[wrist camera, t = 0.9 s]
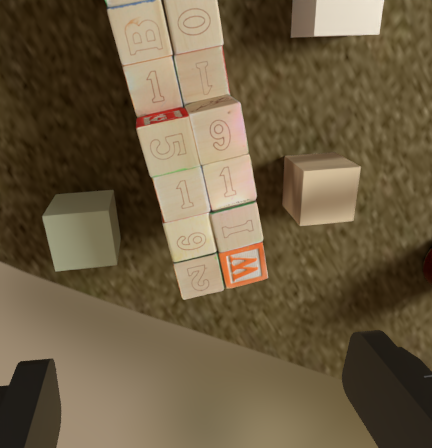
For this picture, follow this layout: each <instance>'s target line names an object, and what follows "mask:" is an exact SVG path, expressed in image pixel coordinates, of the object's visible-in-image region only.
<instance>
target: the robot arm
mask: <svg viewBox="0 0 432 448" xmlns="http://www.w3.org/2000/svg"><path fill="white" fill-rule="evenodd" d="M342 382H343V387H344V390H345V393H346V395H347V397H348V399H349V401H350V402H351V404H352V405H353V407H354V409H355V410H356V412H357V413H358V415H359V417H360V418H361V420H362V422H363V423H364V425H365V426H366V428H367V430H368V431H369V433H370V434H371V436H372V437H373V439H374V441H375V443H376V444H377V446H378V447H379V448H432V371H431V370H430V369H429V368H428V367H427V366H426V365H425V364H424V363H423V362H422V361H421V360H420V359H419V358H417V357H416V356H414V355H413V354H411V353H410V352H408V351H407V350H405V349H404V348H402V347H397V346H396V345H395V344H394V343H393V341H392V340H391V339H390V338H389V337H388V336H387V335H386V334H385V333H384V332H383V331H380V330H375V331H364V332H355V333H353V334H352V336H351V338H350V342H349V346H348V351H347V355H346V359H345V364H344V368H343V373H342ZM60 424H61V401H60V395H59V388H58V381H57V374H56V368H55V362H54V360H53V359H42V360H31V361H21V362H19V363H18V365H17V367H16V369H15V372H14V374H13V377H12V379H11V382H10V384H9V385H8V386H0V448H56V445H57V440H58V436H59V431H60Z"/></svg>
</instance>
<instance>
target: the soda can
mask: <svg viewBox="0 0 432 448" xmlns="http://www.w3.org/2000/svg"><path fill="white" fill-rule="evenodd" d="M423 273H424V277H425V279H426V280H427V281H428V282H429V284H431V285H432V247H431V248H430V250H429V251H428V253H427V254H426V257H425V259H424V263H423Z"/></svg>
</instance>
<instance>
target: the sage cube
mask: <svg viewBox="0 0 432 448" xmlns="http://www.w3.org/2000/svg"><path fill="white" fill-rule="evenodd" d="M42 218H43V222H44V226H45V230H46V234H47V239H48V243H49V247H50V251H51V255H52V259H53V264H54V268H55V271H64V270H74V269H84V268H93V267H103V266H113V265H117V262H118V255H119V248H120V241H121V237H120V230H119V223H118V217H117V210H116V203H115V196H114V190H104V191H91V192H79V193H66V194H56V195H55V196H54V198H53V200H52V201H51V203H50V204H49V206H48V208H47V209H46V211H45V212H44V214H43V216H42Z"/></svg>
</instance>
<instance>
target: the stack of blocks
mask: <svg viewBox="0 0 432 448" xmlns="http://www.w3.org/2000/svg"><path fill="white" fill-rule="evenodd" d="M105 3H106V6H107V13H108V17H109V21H110V24H111V28H112V31H113V35H114V39H115V42H116V46H117V50H118V53H119V57H120V60H121V63H122V67H123V72H124V75H125V79H126V83H127V86H128V89H129V93H130V96H131V100H132V103H133V107H134V110H135V113H136V116H137V117H138V118H137V119H136V131H137V134H138V138H139V141H140V144H141V148H142V151H143V155H144V158H145V161H146V165H147V168H148V172H149V175H150V177H151V178H152V180H153V184H154V188H155V191H156V195H157V198H158V202H159V205H160V209H161V214H162V223H163V228H164V231H165V235H166V238H167V242H168V246H169V249H170V253H171V257H172V260H173V266H174V270H175V274H176V278H177V281H178V285H179V289H180V293H181V296H182V299H184V300H186V299H190V298H193V297H198V296H202V295H206V294H210V293H214V292H219V291H223V290H224V288H234V287H238V286H242V285H246V284H249V283H253V282H257V281H261V280H264V279H267V278H268V273H267V267H266V261H265V254H264V247H263V243H262V241H263V235H262V229H261V223H260V218H259V212H258V206H257V203H256V198H257V193H256V187H255V181H254V175H253V169H252V164H251V158H250V155H249V153H248V143H247V137H246V132H245V126H244V120H243V114H242V108H241V103H240V102H239V101H237V100H236V99H235V98H233V97H232V96H230V90H229V84H228V78H227V71H226V65H225V58H224V52H223V43H224V42H223V35H222V28H221V21H220V15H219V9H218V3H217V0H105Z"/></svg>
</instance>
